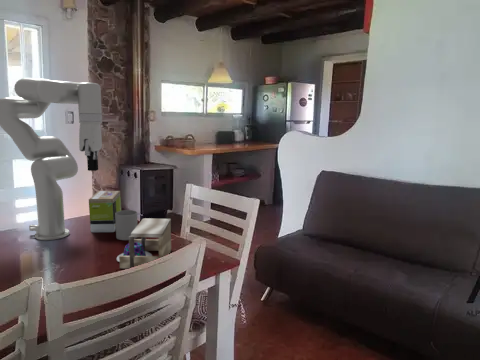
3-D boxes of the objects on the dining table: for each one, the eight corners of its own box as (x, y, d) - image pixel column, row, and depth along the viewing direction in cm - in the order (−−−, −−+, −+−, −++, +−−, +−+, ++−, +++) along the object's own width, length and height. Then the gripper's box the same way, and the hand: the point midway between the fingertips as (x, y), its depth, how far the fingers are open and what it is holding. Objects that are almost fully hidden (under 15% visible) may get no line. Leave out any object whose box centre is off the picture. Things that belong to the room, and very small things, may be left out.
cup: (140, 233, 160) (140, 210, 158) (133, 240, 152) (132, 216, 150) (121, 232, 160) (120, 209, 159) (112, 239, 152) (111, 215, 151)
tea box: (99, 222, 175) (98, 190, 172) (122, 222, 175) (121, 190, 173) (89, 232, 160) (88, 198, 157) (114, 232, 161) (113, 198, 158)
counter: (119, 268, 125) (118, 233, 123) (133, 249, 143) (132, 217, 140) (162, 269, 126) (162, 234, 123) (171, 249, 143) (170, 218, 141)
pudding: (157, 261, 133) (157, 246, 132) (123, 268, 126) (122, 253, 125) (144, 250, 143) (144, 236, 142) (112, 256, 136) (111, 242, 135)
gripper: (87, 117, 142) (90, 166, 146) (70, 119, 128) (74, 173, 131) (108, 118, 143) (110, 167, 146) (93, 119, 128) (96, 174, 131)
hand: (93, 170), depth 139 cm, fingers closed
